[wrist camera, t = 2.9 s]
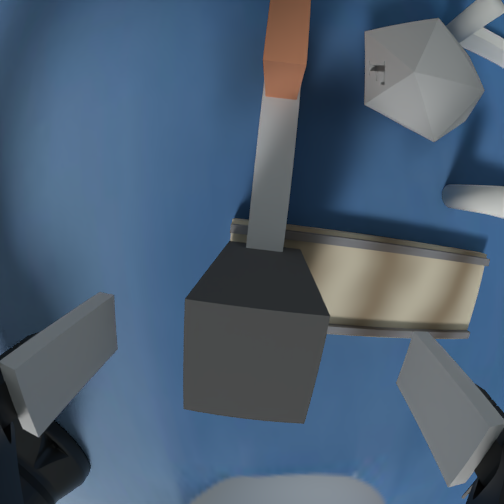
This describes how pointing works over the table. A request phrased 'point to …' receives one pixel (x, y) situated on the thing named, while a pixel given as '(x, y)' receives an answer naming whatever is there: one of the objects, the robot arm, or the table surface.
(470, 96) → the die
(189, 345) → the rod
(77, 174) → the table surface
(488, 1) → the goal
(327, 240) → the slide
